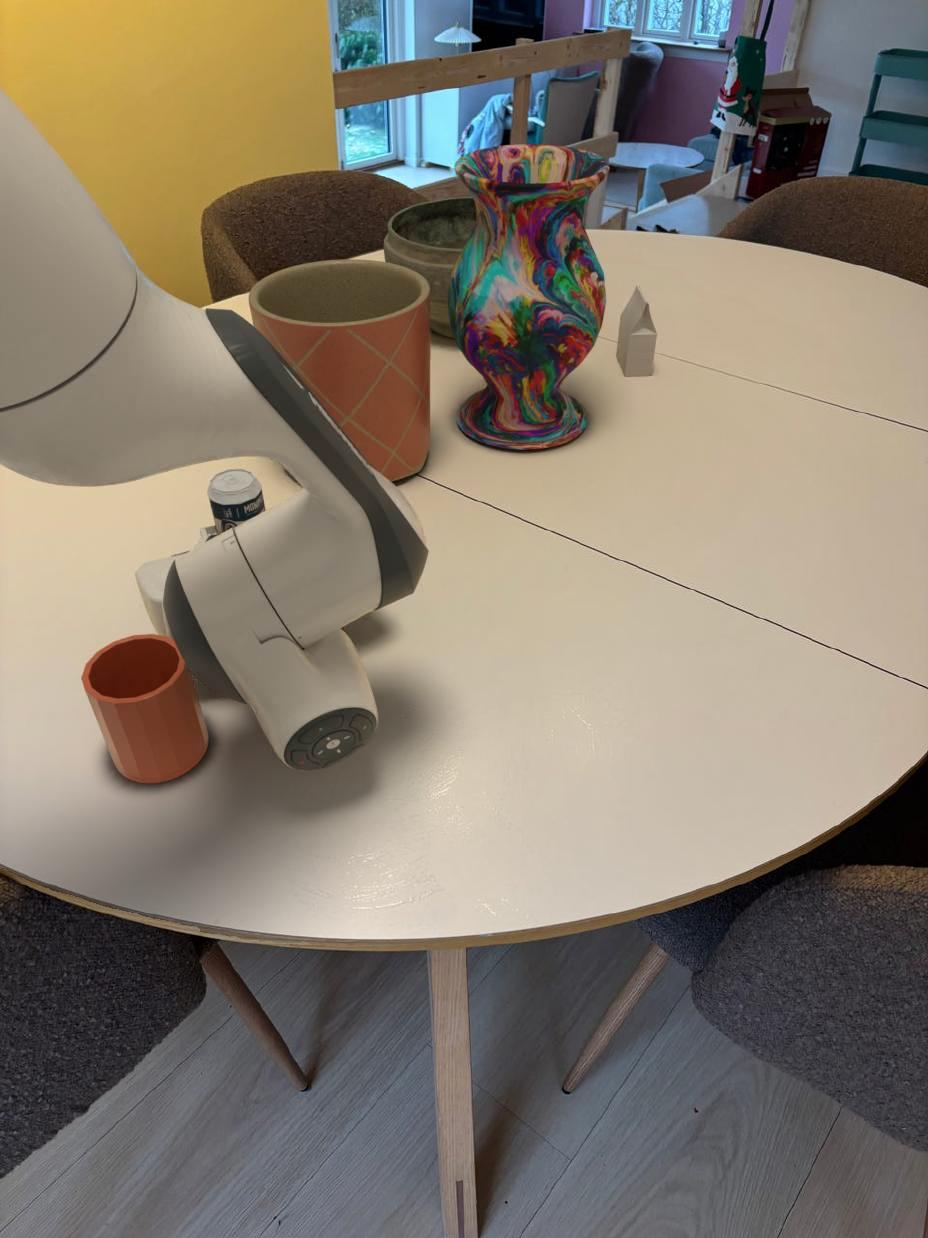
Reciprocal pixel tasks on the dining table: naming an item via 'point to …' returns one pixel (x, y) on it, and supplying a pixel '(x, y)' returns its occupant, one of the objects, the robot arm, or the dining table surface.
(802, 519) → the dining table surface
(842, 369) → the dining table surface
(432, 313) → the bowl
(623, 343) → the gable top carton
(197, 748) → the terracotta cup
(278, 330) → the planter
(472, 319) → the vase
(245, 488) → the beer can
